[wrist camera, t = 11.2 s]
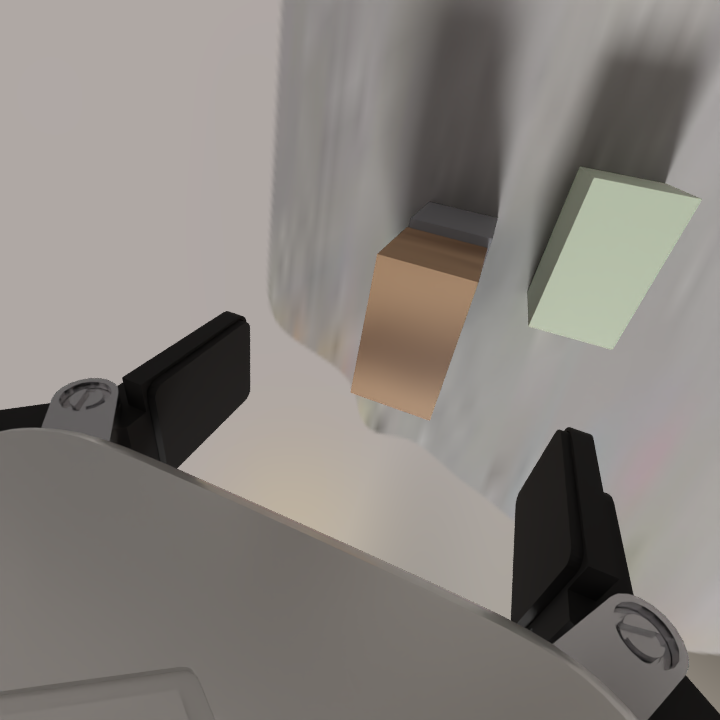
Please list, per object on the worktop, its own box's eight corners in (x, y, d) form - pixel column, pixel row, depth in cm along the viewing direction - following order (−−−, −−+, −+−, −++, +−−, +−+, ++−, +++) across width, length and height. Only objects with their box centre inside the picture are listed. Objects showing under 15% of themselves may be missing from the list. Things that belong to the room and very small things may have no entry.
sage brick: (579, 166, 20) (594, 177, 16) (664, 183, 20) (702, 199, 16) (527, 291, 24) (528, 326, 20) (596, 310, 23) (612, 349, 19)
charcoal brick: (429, 201, 23) (410, 218, 19) (497, 217, 23) (492, 238, 19) (403, 307, 27) (383, 340, 23) (460, 324, 27) (450, 361, 22)
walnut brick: (407, 226, 20) (377, 253, 16) (487, 247, 19) (478, 282, 15) (380, 346, 24) (350, 392, 19) (446, 367, 23) (429, 420, 19)
